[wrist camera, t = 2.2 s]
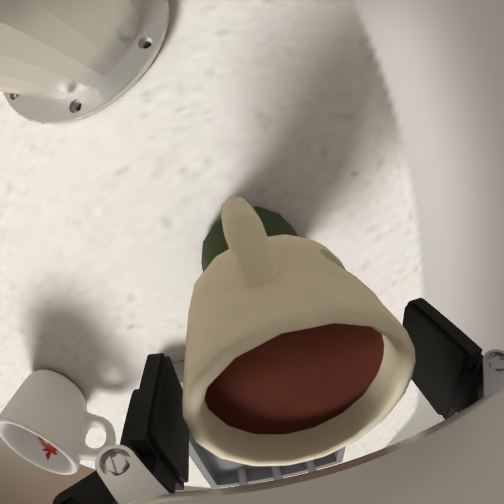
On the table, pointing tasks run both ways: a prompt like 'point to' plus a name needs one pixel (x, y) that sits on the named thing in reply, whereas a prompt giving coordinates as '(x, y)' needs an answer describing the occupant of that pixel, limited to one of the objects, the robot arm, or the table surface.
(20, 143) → the table surface
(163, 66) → the table surface
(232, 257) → the character mug
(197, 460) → the dish rack
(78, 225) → the table surface
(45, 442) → the cup
